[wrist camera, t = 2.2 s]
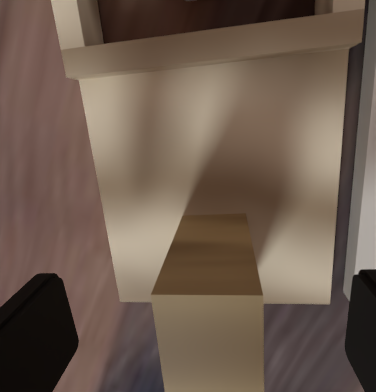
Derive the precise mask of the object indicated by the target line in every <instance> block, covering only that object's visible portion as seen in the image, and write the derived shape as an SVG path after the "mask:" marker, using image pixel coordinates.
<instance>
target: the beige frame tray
mask: <svg viewBox="0 0 376 392" xmlns="http://www.w3.org/2000/svg"><path fill="white" fill-rule="evenodd" d="M51 3H52V8H53V13H54V18H55V23H56V28H57V33H58V38H59V43H60V48H61V53H62V58H63V63H64V68H65V73H66V77H67V78H72V79H76V80H79V83H80V89H81V94H82V99H83V105H84V110H85V115H86V121H87V126H88V132H89V137H90V142H91V148H92V153H93V158H94V164H95V169H96V175H97V180H98V185H99V191H100V196H101V201H102V207H103V212H104V217H105V223H106V228H107V234H108V239H109V244H110V250H111V255H112V260H113V266H114V271H115V277H116V282H117V287H118V293H119V298H120V302H152V307H153V314H154V321H155V327H156V334H157V341H158V348H159V355H160V361H161V368H162V375H163V382H164V389H165V392H264V322H263V303H266V304H330V296H331V283H332V269H333V256H334V242H335V229H336V216H337V202H338V189H339V175H340V162H341V148H342V135H343V122H344V108H345V95H346V81H347V68H348V55H349V48H351V47H353V46H355V45H357V44H359V43H361V42H362V33H363V21H364V10H365V0H315V15H314V16H306V17H299V18H291V19H284V20H277V21H269V22H262V23H255V24H247V25H240V26H232V27H225V28H218V29H210V30H203V31H196V32H188V33H181V34H173V35H166V36H159V37H151V38H144V39H137V40H129V41H122V42H114V43H107V44H104V41H103V34H102V28H101V21H100V15H99V9H98V2H97V0H51Z"/></svg>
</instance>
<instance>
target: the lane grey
mask: <svg viewBox="0 0 376 392" xmlns="http://www.w3.org/2000/svg"><path fill="white" fill-rule="evenodd" d="M362 269H376V0H369V7H368V18H367V29H366V40H365V52H364V63H363V74H362V85H361V96H360V107H359V119H358V130H357V141H356V152H355V163H354V174H353V186H352V197H351V208H350V219H349V230H348V242H347V253H346V264H345V275H344V286H343V293H344V294H345V296H346V297H347V299H348V300H349V302H350V294H351V286H352V278H353V276H354V275H355V274H358V273H359V271H360V270H362Z"/></svg>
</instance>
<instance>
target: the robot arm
mask: <svg viewBox="0 0 376 392" xmlns="http://www.w3.org/2000/svg"><path fill="white" fill-rule="evenodd" d="M78 342H79V340H78V335H77V332H76V328H75V324H74V320H73V317H72V313H71V309H70V306H69V302H68V298H67V295H66V291H65V287H64V283H63V280H62V279H61V278H59V277H58V275H57V274H55V273H41V274H37V275H35V276H34V277H33V278H32V279H31V280H30V281H29V282H27V283H26V284H25V285H24V286H23V287H22V288H21V289H20V290H19V291H18V292H17V293H15V294H14V295H13V296H12V297H11V298H10V299H9V300H8V301H7V302H6V303H5V304H4V305H2V306H1V307H0V392H52V391H53V390H54V388H55V386H56V385H57V383H58V381H59V379H60V378H61V376H62V374H63V373H64V371H65V369H66V368H67V366H68V364H69V362H70V361H71V359H72V357H73V356H74V354H75V352H76V350H77V348H78ZM345 351H346V355H347V357H348V360H349V362H350V364H351V366H352V368H353V370H354V372H355V373H356V375H357V377H358V379H359V381H360V383H361V385H362V387H363V389H364V391H365V392H376V269H362V270H360V271H359V273H358V274H355V275H354V276H353V278H352V286H351V294H350V303H349V312H348V321H347V330H346V339H345Z"/></svg>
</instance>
